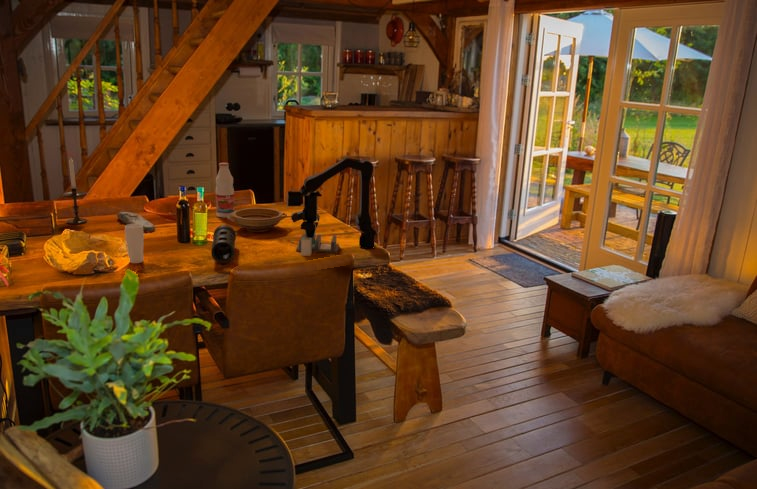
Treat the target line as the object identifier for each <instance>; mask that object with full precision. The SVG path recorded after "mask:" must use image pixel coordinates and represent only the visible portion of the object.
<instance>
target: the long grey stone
mask: <svg viewBox="0 0 757 489" xmlns="http://www.w3.org/2000/svg"><path fill="white" fill-rule="evenodd" d="M116 216H117V219H119V220H120V222H121V223H124V224H126V225H128V224H141V225H143V233H151V232H154V231H156V230H155V229H156V227H155V225H154V224H153V223H151V221H149V220H147V219H145V218H144V217H143V216H142V215H141V214H137V213H136V212H135V213H134V212H130V211H120V212H118V213H117V214H116Z"/></svg>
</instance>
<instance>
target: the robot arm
mask: <svg viewBox="0 0 757 489" xmlns="http://www.w3.org/2000/svg"><path fill="white" fill-rule="evenodd" d="M348 168H350V169H354V170H356V171H358V176H359V179H360V180H359V182H360V183H359V184H360V185H359V187H360V188H359V191H360V192H359V211H358V214H357V213H355V221H354V223H355V224H356V227H357V228H358V229H359V230H360V231H361V232H360V235H359V248H360V249H369V248H373V247H374V245H375V246H376V244H375V241H376V238H375V236H376V235H377V231H376V229H374V227H373V225H372V224H373V223H372V220H371V214H370V190H371V189H370V188H371V187H370V186H371V185H370V184H371V182H370V181H371V180H372V176H373V171H374V165H373V163H372V162H371V161H369V160H368V159H365V158H363V159H357V158H351V157H349V156H346V157H343V158H342V159H340V160H339V161H338V162H336V163H334V164H333V165H331V166H329V167H328V168H325V169H324V170H323V171H321V172H319V173H316V174H313V175H309V176H307V177H306V178H305V179H304V180H303V185H301V187H300V189H299V190H287V197H286V206H287V207H301V206H302V205H303V209H302V210H300V211H296V212H293V213H291V215H290V220H292V222H293V223H296V222H299V221H302V222H301V224H300V230H304V232H305V231H306V233H307V237H308V238H313V235H314V233H315V234H316V231H317V228H318V225H319V222H320V221H321V220H320V217H321V215H319V213H318V210H319V208H318V197H321V198H322V196H323V194H322V193H321V192H320V191H319V189H320V188H321V187H322V186H323V185H324V183H326V182H327V181H328V180H330V179H332V178H333V177H335V176H337V175H338V174H340V173H341V172H343V171H345V170H346V169H348ZM374 248H375V247H374Z"/></svg>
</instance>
